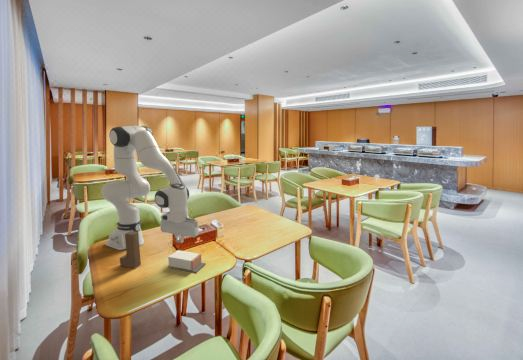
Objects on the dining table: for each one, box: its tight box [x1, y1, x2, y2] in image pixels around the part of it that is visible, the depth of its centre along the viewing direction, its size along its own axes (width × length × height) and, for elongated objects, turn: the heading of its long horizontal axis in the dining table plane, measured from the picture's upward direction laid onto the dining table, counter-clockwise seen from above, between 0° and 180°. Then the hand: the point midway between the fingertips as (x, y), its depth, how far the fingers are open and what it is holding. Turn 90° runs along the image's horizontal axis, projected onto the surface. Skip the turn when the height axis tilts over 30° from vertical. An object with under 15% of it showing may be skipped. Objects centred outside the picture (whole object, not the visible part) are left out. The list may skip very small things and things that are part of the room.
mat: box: [169, 262, 206, 274], centre depth 140 cm, size 15×9×1 cm, turn 72°
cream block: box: [167, 249, 202, 271], centre depth 140 cm, size 5×8×14 cm
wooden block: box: [119, 231, 142, 269], centre depth 139 cm, size 9×4×18 cm, turn 74°
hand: (180, 242), depth 139 cm, fingers closed
